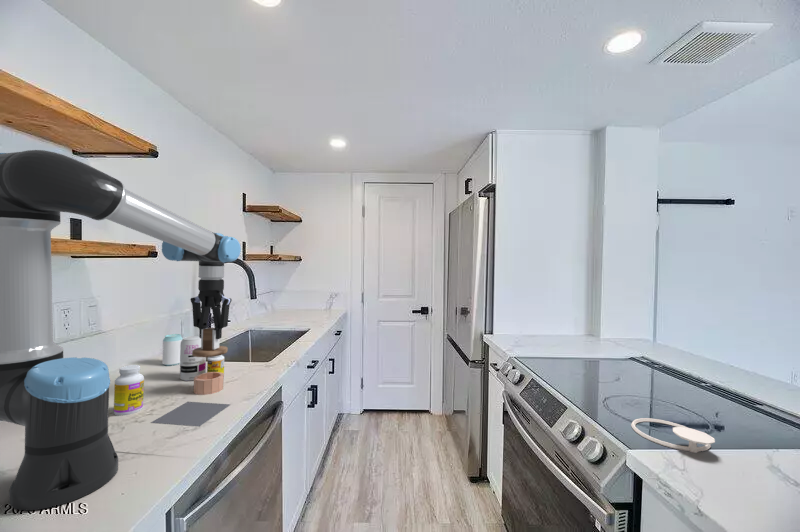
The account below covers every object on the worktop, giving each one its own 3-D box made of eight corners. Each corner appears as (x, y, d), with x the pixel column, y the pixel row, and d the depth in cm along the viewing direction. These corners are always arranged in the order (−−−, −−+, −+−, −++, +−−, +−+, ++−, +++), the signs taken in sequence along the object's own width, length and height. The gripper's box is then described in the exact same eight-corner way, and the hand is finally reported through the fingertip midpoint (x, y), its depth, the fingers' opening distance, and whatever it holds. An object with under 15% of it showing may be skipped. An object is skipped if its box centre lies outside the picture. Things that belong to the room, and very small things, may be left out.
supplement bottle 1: (126, 418, 94) (127, 371, 94) (107, 415, 95) (108, 369, 95) (149, 408, 100) (150, 364, 100) (130, 405, 102) (131, 362, 101)
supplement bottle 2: (203, 381, 123) (204, 353, 123) (212, 376, 129) (213, 349, 129) (218, 382, 123) (218, 353, 123) (227, 376, 128) (227, 350, 128)
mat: (199, 427, 89) (199, 426, 89) (150, 424, 91) (150, 422, 91) (230, 405, 103) (230, 404, 103) (187, 402, 104) (187, 401, 104)
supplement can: (199, 372, 132) (200, 334, 132) (209, 377, 128) (210, 337, 127) (175, 378, 126) (176, 337, 126) (185, 383, 121) (186, 341, 121)
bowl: (212, 396, 110) (213, 381, 110) (187, 394, 111) (188, 379, 111) (228, 386, 118) (228, 372, 118) (205, 385, 119) (205, 371, 119)
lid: (214, 358, 109) (215, 332, 109) (184, 356, 110) (185, 331, 110) (233, 349, 119) (234, 326, 119) (205, 348, 120) (206, 325, 120)
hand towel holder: (677, 408, 100) (744, 445, 80) (676, 423, 100) (744, 463, 80) (618, 405, 101) (670, 441, 80) (617, 420, 101) (669, 459, 80)
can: (186, 362, 145) (187, 334, 145) (172, 366, 139) (173, 337, 138) (172, 360, 147) (173, 333, 147) (158, 365, 140) (158, 336, 140)
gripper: (240, 278, 117) (239, 346, 117) (196, 277, 119) (195, 344, 119) (227, 280, 110) (226, 352, 110) (180, 278, 111) (179, 349, 111)
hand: (210, 348), depth 114 cm, fingers closed on lid, 3 cm apart
